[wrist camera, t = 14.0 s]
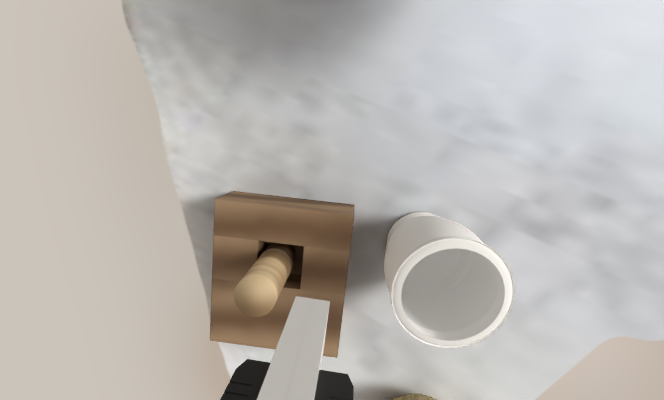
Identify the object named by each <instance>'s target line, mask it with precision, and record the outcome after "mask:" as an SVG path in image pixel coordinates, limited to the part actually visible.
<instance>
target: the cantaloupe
mask: <svg viewBox="0 0 664 400" xmlns="http://www.w3.org/2000/svg"><path fill="white" fill-rule="evenodd" d="M392 400H436V399H434V398H432V397H429V396H426V395H422V394H408V395H403V396H400V397H397V398H395V399H392Z"/></svg>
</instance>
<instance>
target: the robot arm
mask: <svg viewBox="0 0 664 400" xmlns="http://www.w3.org/2000/svg"><path fill="white" fill-rule="evenodd" d="M329 305H330V301H325V300H318V299H312V298H305V297H298V296H296V297H295V300H294V302H293V305H292V308H291V310H290V313H289V316H288V318H287V321H286V324H285V326H284V329H283V332H282V334H281V337H280V340H279V342H278V345H277V347H276V350H275V353H274V355H273V358H272V361H271V363H268V362H262V361H256V360H249V359H247V360H246V361H245V362H244V363H242V364H241V365H240V366H239V367H238V368H237V369H236V370H235V372H234V374H233V376H232V378H231V380H230V383H229V384H228V386H227V388H226V390H225V392H224V394H223V396H222V397H221V400H353V385H352V382H351V380H350V378H349V376H348V374H343V373H337V372H330V371H324V370H321V365H322V358H323V351H324V343H325V336H326V328H327V320H328V312H329Z"/></svg>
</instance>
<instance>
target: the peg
mask: <svg viewBox="0 0 664 400" xmlns="http://www.w3.org/2000/svg"><path fill="white" fill-rule="evenodd" d="M294 263H295V250H294V248H293V246H292V245H290V244H281V243H272V244H271V245H269V246H268V247H267V248H266V250H265V251H264V252H263V253H262V254H261V255H260V256H259V258H258V260H257V261H256V262H255V263H254V265H253V266H252V267H251V268H250V270H249V271H248V272H247V273H246V274H245V276H244V277H243V278H242V279H241V281H240V282H239V283H238V284H237V286H236V288H235V290H234V301H235V303H236V305H237V307H238V308H239V309H240V310H241V311H242V312H243V313H245V314H246V315H249V316H253V317H260V316H264V315H266V314H268V313H269V312H270V311H271V310H272V309H273V307H274V305H275V303H276V301H277V299H278V297H279V295H280V293H281V291H282V289H283V286H284V284H285V282H286V280H287V278H288V276H289V275H290V273H291V271H292V268H293V266H294Z"/></svg>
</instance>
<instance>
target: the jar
mask: <svg viewBox="0 0 664 400" xmlns="http://www.w3.org/2000/svg"><path fill="white" fill-rule="evenodd" d="M384 274H385V279H386V283H387V287H388V289H389V292H390V298H391V304H392V308H393V311H394V313H395V315H396V317H397V319H398V321H399V322H400V324H401V325H402V326H403V328H404V329H405V330H406V331H407V332H408V333H409V334H410V335H412V336H413V337H415V338H416V339H418V340H420V341H421V342H424V343H426V344H429V345H432V346H436V347H442V348H459V347H465V346H469V345H472V344H475V343H477V342H480V341H482V340H484V339H485V338H487V337H489V336H490V335H491V334H493V333H494V332H495V331H496V330H497V329H498V328H499V327H500V326H501V325H502V324H503V323H504V321H505V320H506V318H507V317H508V315H509V313H510V311H511V309H512V306H513V302H514V297H515V284H514V278H513V275H512V272H511V270H510V268H509V266H508V264H507V263H506V262H505V260H504V259H503V258H502V257H501V256H500V255H499V254H498V253H497V252H496V251H495V250H493V249H492V248H490V247H489V246H487V245H486V244H484V243H483V242H482V241H481V240H480V239H479V238H478V237H477V236H476V235H475V234H474V233H472V232H471V231H470V230H468V229H467V228H465V227H464V226H462V225H460V224H458V223H456V222H454V221H451V220H448V219H444V218H441V217H438V216H436V215H434V214H431V213H427V212H415V213H411V214H408V215H406V216H404V217H402V218H400V219H399V220H398V221H397V222H396V223H395V224H394V225H393V226H392V228H391V229H390V231H389V234H388V237H387V248H386V253H385V259H384Z"/></svg>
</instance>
